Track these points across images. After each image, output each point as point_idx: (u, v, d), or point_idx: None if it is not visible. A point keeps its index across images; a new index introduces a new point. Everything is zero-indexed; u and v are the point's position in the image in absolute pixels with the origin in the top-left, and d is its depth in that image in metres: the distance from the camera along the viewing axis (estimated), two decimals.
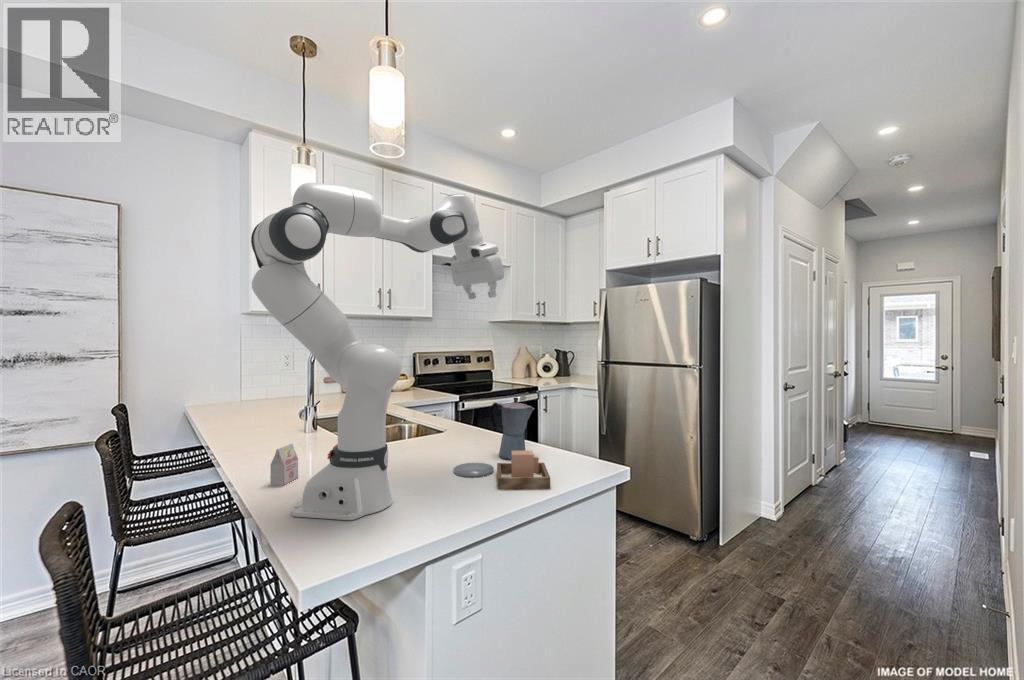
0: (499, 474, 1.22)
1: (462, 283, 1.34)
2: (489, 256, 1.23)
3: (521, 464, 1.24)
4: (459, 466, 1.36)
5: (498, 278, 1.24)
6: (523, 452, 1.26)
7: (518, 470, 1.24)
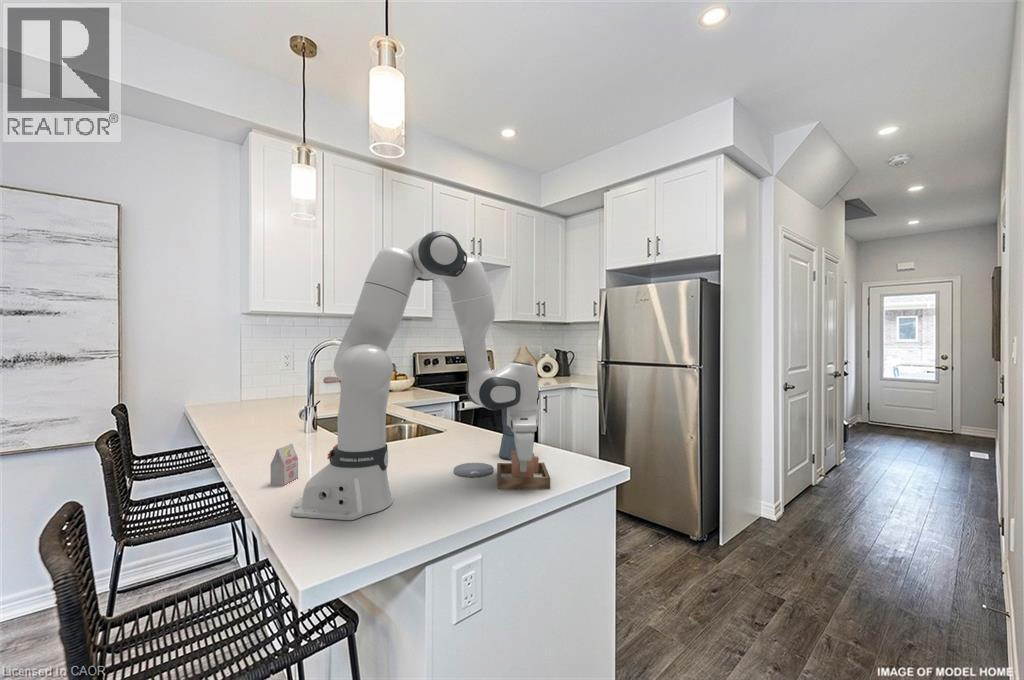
0: (499, 474, 1.22)
1: None
2: (521, 433, 1.17)
3: None
4: (459, 466, 1.36)
5: (522, 459, 1.16)
6: None
7: (518, 470, 1.24)
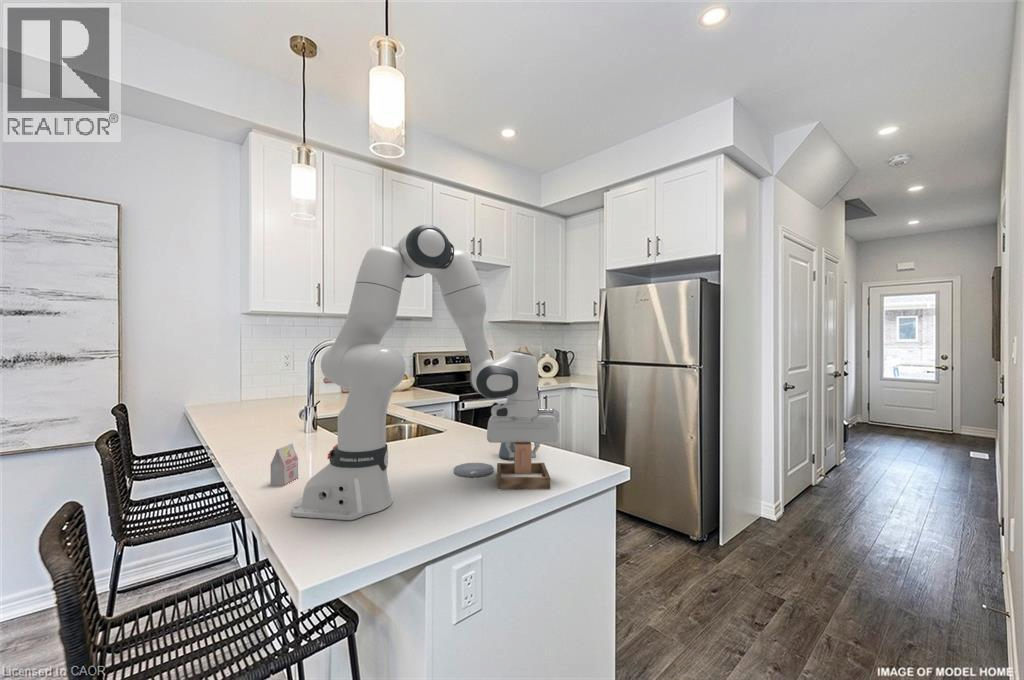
0: (499, 474, 1.22)
1: None
2: (491, 416, 1.26)
3: (514, 451, 1.26)
4: (459, 466, 1.36)
5: None
6: (523, 442, 1.25)
7: None
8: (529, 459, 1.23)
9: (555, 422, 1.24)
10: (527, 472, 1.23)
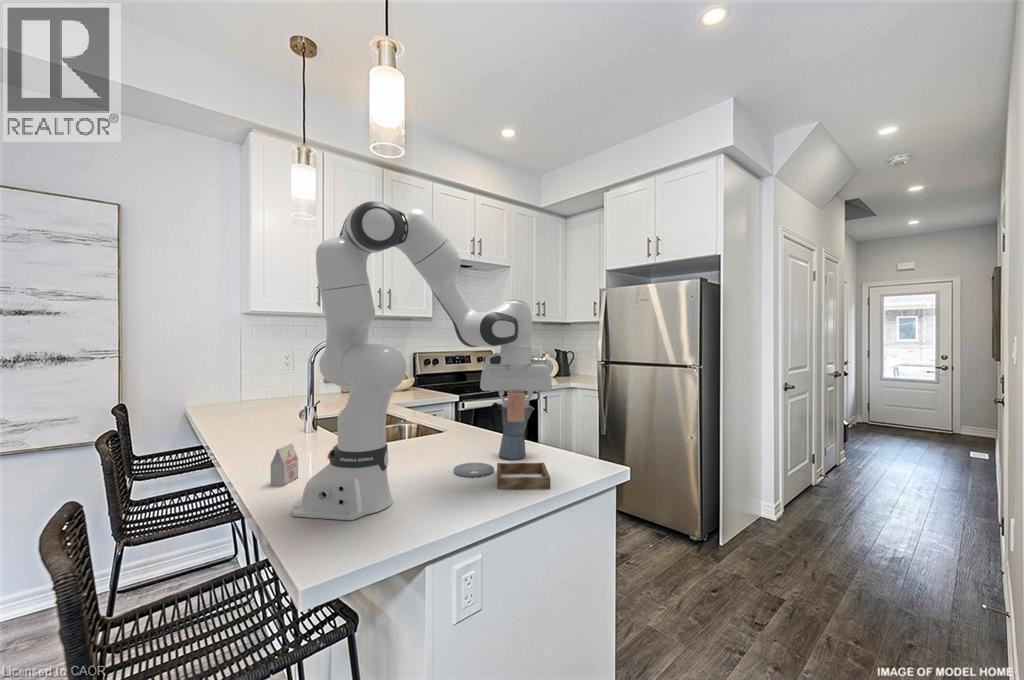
0: (499, 474, 1.22)
1: None
2: (485, 365, 1.27)
3: None
4: (459, 466, 1.36)
5: None
6: (516, 391, 1.26)
7: None
8: (522, 407, 1.24)
9: (548, 371, 1.25)
10: (520, 420, 1.24)
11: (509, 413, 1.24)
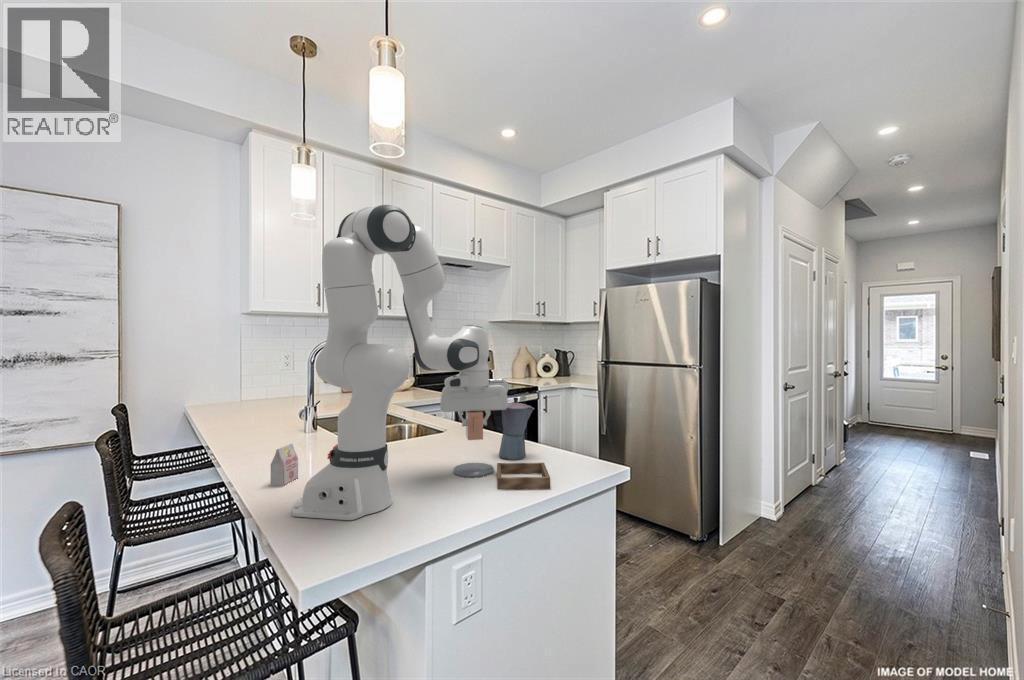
0: (499, 474, 1.22)
1: None
2: (445, 387, 1.33)
3: None
4: (459, 466, 1.36)
5: None
6: (474, 411, 1.34)
7: None
8: (481, 426, 1.32)
9: (504, 391, 1.34)
10: (479, 438, 1.32)
11: (469, 432, 1.31)
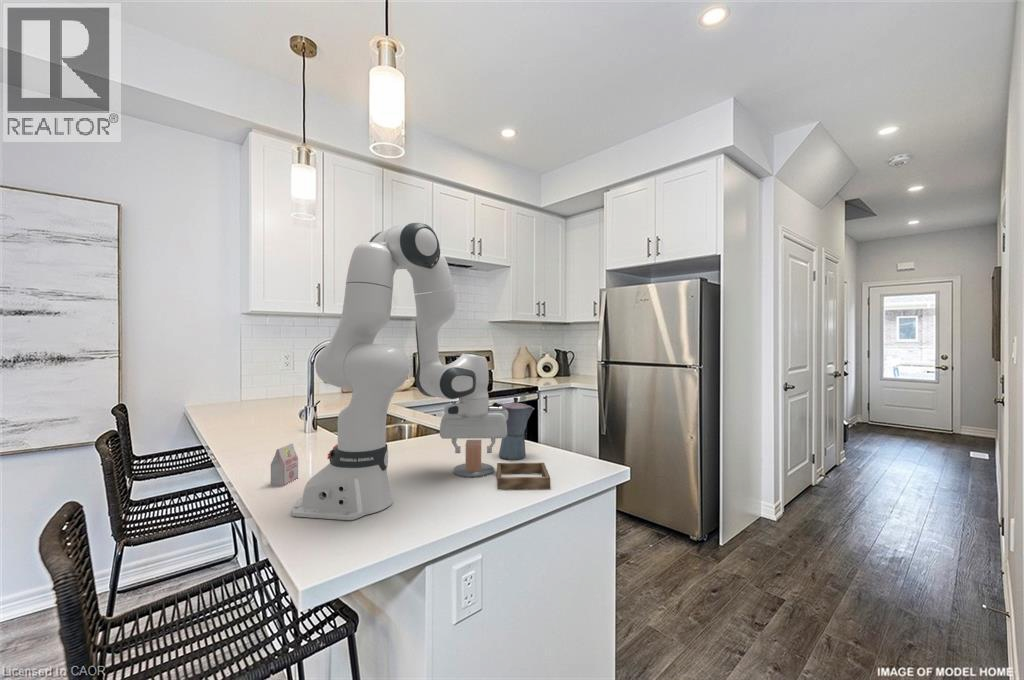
0: (499, 474, 1.22)
1: None
2: (445, 413, 1.35)
3: None
4: (459, 466, 1.36)
5: None
6: (474, 442, 1.34)
7: None
8: (479, 458, 1.31)
9: (504, 419, 1.33)
10: (477, 470, 1.32)
11: (466, 464, 1.31)
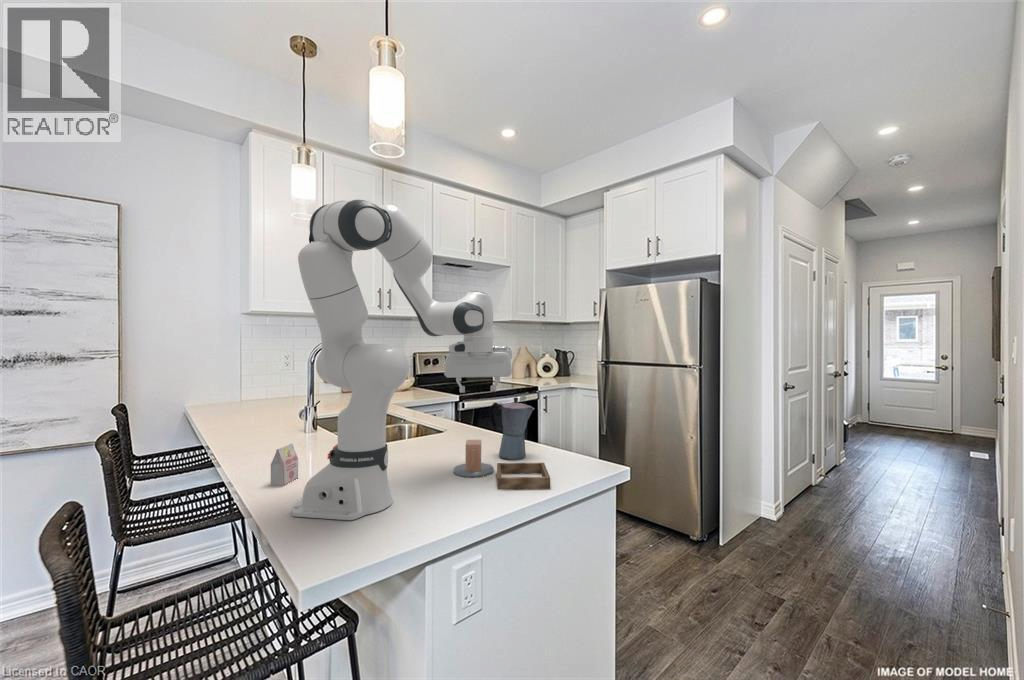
0: (499, 474, 1.22)
1: None
2: (449, 353, 1.34)
3: None
4: (459, 466, 1.36)
5: (444, 374, 1.33)
6: (474, 442, 1.34)
7: None
8: (479, 458, 1.31)
9: (508, 358, 1.35)
10: (477, 470, 1.32)
11: (466, 464, 1.31)
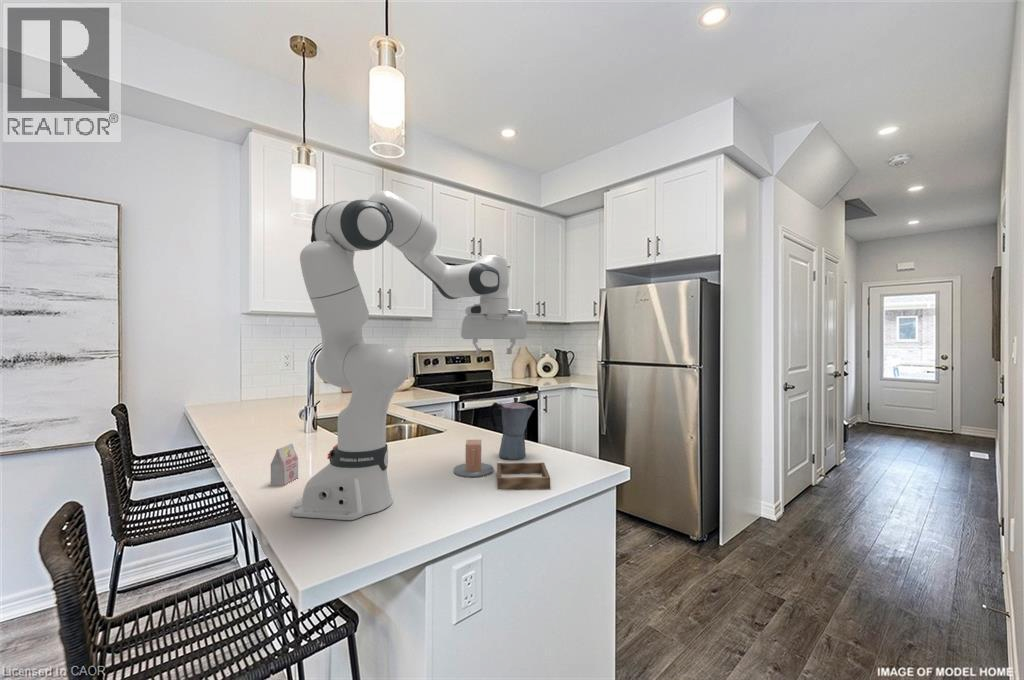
0: (499, 474, 1.22)
1: None
2: None
3: None
4: (459, 466, 1.36)
5: None
6: (474, 442, 1.34)
7: None
8: (479, 458, 1.31)
9: (524, 320, 1.37)
10: (477, 470, 1.32)
11: (466, 464, 1.31)
